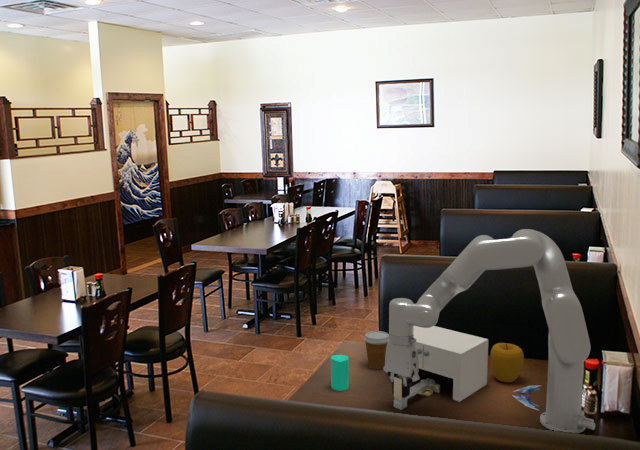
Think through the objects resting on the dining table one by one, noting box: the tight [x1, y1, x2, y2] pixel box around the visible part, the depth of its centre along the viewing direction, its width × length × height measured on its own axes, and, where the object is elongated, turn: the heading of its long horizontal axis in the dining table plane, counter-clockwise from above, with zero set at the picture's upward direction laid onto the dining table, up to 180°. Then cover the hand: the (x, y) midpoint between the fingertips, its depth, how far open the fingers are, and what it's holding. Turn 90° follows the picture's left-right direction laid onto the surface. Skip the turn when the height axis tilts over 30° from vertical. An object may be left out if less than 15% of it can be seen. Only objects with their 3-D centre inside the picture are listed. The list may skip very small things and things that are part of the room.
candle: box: [330, 353, 350, 392], centre depth 202 cm, size 6×6×12 cm
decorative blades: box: [511, 384, 541, 411], centre depth 195 cm, size 20×1×10 cm
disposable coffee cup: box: [363, 330, 389, 370], centre depth 220 cm, size 10×10×12 cm
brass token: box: [417, 387, 434, 397], centre depth 198 cm, size 5×5×1 cm
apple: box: [490, 342, 525, 383], centre depth 207 cm, size 11×11×13 cm
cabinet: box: [388, 325, 489, 403], centre depth 206 cm, size 28×19×16 cm
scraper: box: [393, 375, 441, 411], centre depth 193 cm, size 19×7×10 cm, turn 136°
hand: (400, 394), depth 187 cm, fingers closed on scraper, 3 cm apart
